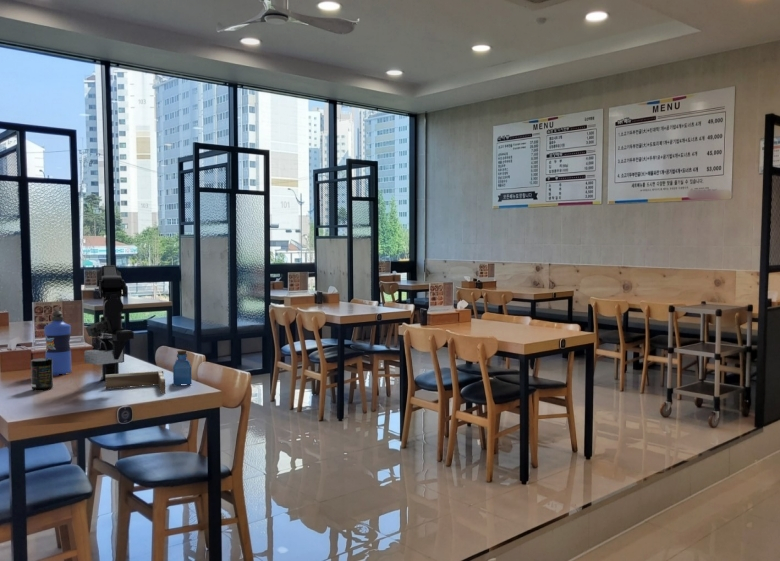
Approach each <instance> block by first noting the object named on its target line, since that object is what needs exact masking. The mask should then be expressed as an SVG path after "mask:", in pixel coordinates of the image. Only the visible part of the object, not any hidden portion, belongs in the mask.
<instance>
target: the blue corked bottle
mask: <svg viewBox="0 0 780 561" xmlns="http://www.w3.org/2000/svg"><path fill="white" fill-rule="evenodd" d="M187 357H188V354H187V350H178V351H177V354H176V358H177V359H176V360H175V361H174V364H173V366H172V374H173V375H172V377H173V379H172V380H173V381H172V382H173V383H172V384H173V385H181V384H192V364H191V362H190V360H189V359H188V358H187Z"/></svg>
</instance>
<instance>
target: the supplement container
mask: <svg viewBox="0 0 780 561" xmlns="http://www.w3.org/2000/svg"><path fill="white" fill-rule="evenodd" d="M52 364H53V363H52V358H46V357H45V358H44V357H43V358H42V357H41V358H40V357H39V358H34V359H31V360H30V373H31V374H30V377H31V379H30V380H31V383H30V384H31V390H32V391H34V390H43V391H48V389H49V390H51V388H52V389H53V387H54V376H53V366H52Z"/></svg>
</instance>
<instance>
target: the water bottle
mask: <svg viewBox="0 0 780 561" xmlns="http://www.w3.org/2000/svg"><path fill="white" fill-rule="evenodd" d="M51 315H52V316H51V318H50V319H51V320H50V321H51V322H50V323H48V324H47V325H45V326H44V327H43V328H44V329H43V331H44V337H45V344H46V348H45V352H44V353H45V358H52V363H53V364H52V366H53V375H55V376H60V375H59V374H65V375H67V374H66V373H70V372H71V373H72V349H71V345H70V342H71V341H70V340H71V333H72V330H71V328H72V326H71V324H69V323H66V322H65V321H64V316H63V312H62V311H61V310H54V311H52V313H51ZM71 373H70V374H71Z"/></svg>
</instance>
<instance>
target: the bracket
mask: <svg viewBox="0 0 780 561" xmlns="http://www.w3.org/2000/svg"><path fill="white" fill-rule="evenodd" d="M123 350H124V349H123ZM123 350H122V353H121V355H120V357H119V359H118V360H115V358H114V352H113V350H105V351H99V350H98V349H90V350H88V349H87V350H84V363H85V364H90V365H91V364H92V365H95V366H102V364H109V363H117V362H122V363H124V362H123Z"/></svg>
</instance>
